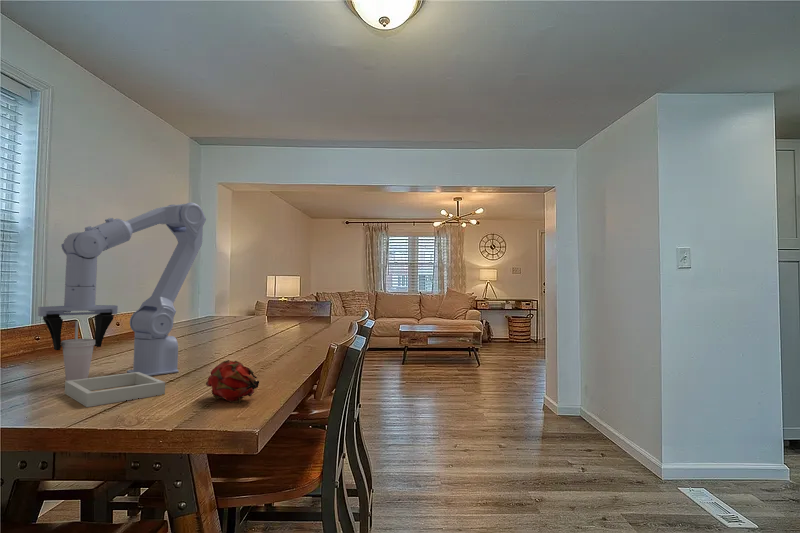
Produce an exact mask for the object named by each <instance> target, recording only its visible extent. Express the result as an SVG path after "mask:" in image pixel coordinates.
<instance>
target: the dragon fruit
mask: <svg viewBox="0 0 800 533" xmlns="http://www.w3.org/2000/svg"><path fill="white" fill-rule="evenodd" d="M256 379H258V377H257V376H255V374H254V371H253V370H252V369H250V368H249V367H247V366H244V364H243V363H242V362H240V361H238V360H230V359H227V360H223V361H222V362H221V363H219V364H218V365H216V366H215V367H214V368H213V369H212V370H211V372H210V375H209V376H208V378H207V381H206V383H205V384H206V386H207V387H211V394H212V396H213V399H214V400H218V399H220V398H222V399H225V400H226V401H228V402H230V403H232V404H239V403H243V401H242V400H240V399H242V398H243V397H247V396H248V397H252V395H254V393H255V389H257V388H258V387H259V385H260V380H257V381H256Z"/></svg>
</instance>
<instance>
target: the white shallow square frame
mask: <svg viewBox="0 0 800 533" xmlns="http://www.w3.org/2000/svg"><path fill="white" fill-rule="evenodd" d="M64 394H65V395H67V396H68V397H70V398H71V399H73V400H75V401H76V402H77V403H79V404H81V405H83V406H84V407H86V408H91V407H95V406H97V407H98V406H102V405H108V404H115V403H120V402H125V401H126V400H127V401H133V400H138V398H139V399H143V398H151V397H156V395H157V396H163V395H162V394H164V395H165V394H166V382H165V381H163V380H161V379H159V378H155V377H153V376H148V375H145V374H143V373H140V372H133V373H127V372H126V373H120V374H119V373H117V374H110V375H103V376H95V377H88V378H86V379H78V380H70V381H66V380H65V381H64ZM132 399H133V400H132Z"/></svg>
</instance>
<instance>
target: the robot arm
mask: <svg viewBox="0 0 800 533" xmlns="http://www.w3.org/2000/svg"><path fill="white" fill-rule="evenodd" d="M104 221H105V222H103V223H100V224H97V225H95V226H90V225H89V226H86V227H84V231H82V232H80V231H79V232H72V233H69V234H68V235H67V236H66V238H64V241H63V243H61V249H62V252H63V253H64V254H65V256H66V260H65V261H66V262H65V263H66V264H65V278H64V279H65V281H64V283H65V284H64V298H63V299H64V300H63V301H64V303H63V304H64V305H54V306H52V305H51V306H38V311H37V316H38V317H42V319H43V321H44V323H45V325H46V327H47V329H48V332H49V334H50V337H51V340H52V344H53V350H55V351H60V350H61V348H62V346H61V341H62V339H61V338H62V327H63V322H64V319H63V318H62V316H81V315H82V316H83V315H84V316H85V315H94V325H95V326H94V329H95V331H94V339H95V343H96V344H95V345H94V347H97V348H101V347H102V343H103V340H104V338H105V335H106V332H107V330H108V328H109V326H110V325H111V324H112V323H113V320H114V315H117V314H118V310H119V308H118V305H117V304H114V305H113V304H105V305H104V304H103V305H102V304H99V305H97V304H96V300H97V299H96V295H97V274H98V257H99V256H101V254H102V252H106V251H107V250H110V249H112V248H114V247H116V246H119V245H122V244H124V243H126V242H129V241H130V239H131V238H132V235H133V234H135V233H138V232H140V231H143V230H146V229H148V228H151V227H154V226H157V225H165V226H166V227H167V228H168V229H169V230H170V232H171V233H172V235H174V237H175V238H176V241H177V245H176V246H175V248H174V250H173V252H172V255H171V256H170V258H169V260H168V262H167V264H166V265H165V268H164V270H163V272H162V274H161V276H160V278H159V280H158V281H157V284H156V286H155V288H154V289H153V292H152V293H151V296H149V297H148V298H147V299H146V300H144V301H143V302H142V303H141V305H140V307H139V308H138V309H137V310H136V311H134V312H133V313H132V315H131V316H130V319H129V326H130V329H131V330H132V332H134V338H133V340H134V342H133V343H134V344H133V367H132V369H128V370H126V373H133V372H140V373H143V374H145V375H148V376H151V377H153V376H157V375H165V374H166V375H167V374H173V373H179V372H180V371H179V369H178V363H179V361H178V360H179V359H178V357H179V343H178V339H177V338H176V337H175V336H173V335H169V333H170V332H172V329H173V327H174V317H175V315H176V312H177V310H176V308H175V306H174V303H175V301H176V298H177V297H178V294H179V292H180V290H181V288H182V287H183V284H184V282H185V280H186V279H187V276H188V274H189V272H190V270H191V268H192V265H193V263H194V262H195V260H196V258H197V256H198V253H199V251H200V249H201V247H202V244H203V234H204V232H203V231H204V230H203V229H204V225H205V222H206V221H207V218H206V216H205V213H204V211H203V208H202V207H201V206H200V205H199V204H197V203H195V202H187V203H181V204H169V205H166V206H159V207H156V208H154V209H151V210H149V211H147V212H144V213H141V214H140V215H137V216H135V217H132V218H130V219H128V220H123V219H120V218H113V217H109V218H106V219H105V220H104ZM78 311H79V312H78ZM85 311H86V312H85Z"/></svg>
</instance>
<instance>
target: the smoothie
mask: <svg viewBox="0 0 800 533" xmlns="http://www.w3.org/2000/svg"><path fill="white" fill-rule="evenodd" d="M74 322H75V324H74V338H71V339H64V340H61V348H62V355H63V364H64V365H63V366H64V372H65V373H64V374H65V381H70V380H78V379H86V378H89V374H90V367H91V364H92V357H93V352H94V347H95V344H96V343H95V338H94V339H93V338H78V337H79V333H78V332H79V320H75V321H74Z"/></svg>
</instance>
